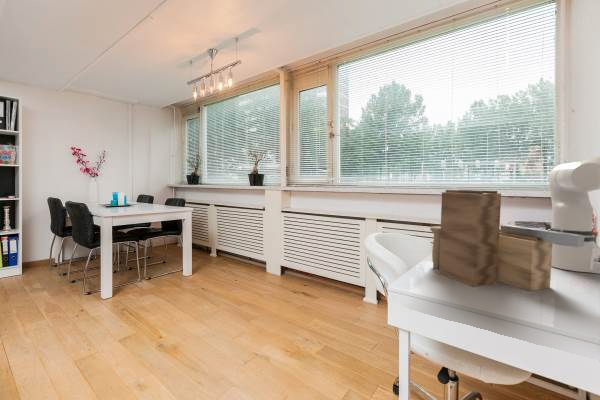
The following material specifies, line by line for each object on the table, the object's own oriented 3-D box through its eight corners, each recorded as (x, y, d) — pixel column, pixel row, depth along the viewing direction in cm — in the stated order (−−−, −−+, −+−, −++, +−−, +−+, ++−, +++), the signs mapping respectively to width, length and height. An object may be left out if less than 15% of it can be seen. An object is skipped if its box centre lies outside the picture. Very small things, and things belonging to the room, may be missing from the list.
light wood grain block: (500, 272, 101) (502, 229, 100) (549, 287, 86) (553, 236, 86) (481, 275, 98) (483, 230, 97) (529, 291, 83) (532, 238, 82)
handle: (449, 268, 105) (450, 227, 104) (438, 270, 102) (439, 229, 101) (437, 264, 109) (438, 225, 108) (426, 267, 106) (427, 227, 105)
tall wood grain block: (460, 270, 102) (464, 189, 100) (496, 282, 90) (501, 190, 88) (439, 273, 99) (442, 189, 97) (473, 286, 87) (477, 191, 85)
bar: (506, 233, 95) (507, 224, 95) (583, 246, 76) (584, 235, 76) (500, 234, 94) (500, 225, 94) (577, 247, 75) (577, 236, 75)
